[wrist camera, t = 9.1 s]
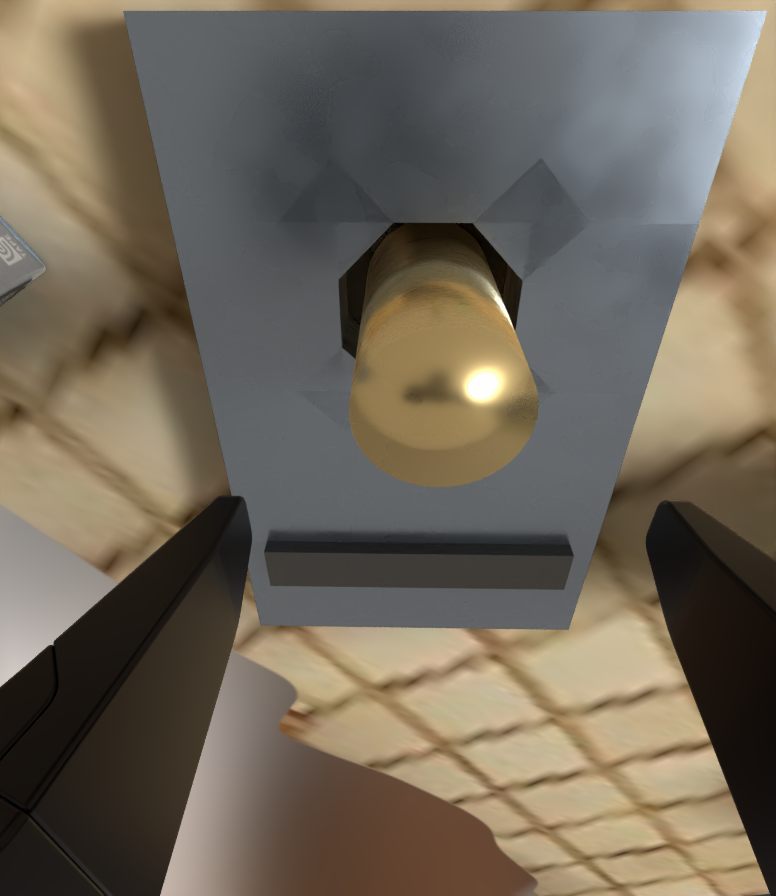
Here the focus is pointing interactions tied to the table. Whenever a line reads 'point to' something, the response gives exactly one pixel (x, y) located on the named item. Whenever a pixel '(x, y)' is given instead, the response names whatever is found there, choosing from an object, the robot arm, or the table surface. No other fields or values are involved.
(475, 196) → the jig
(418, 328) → the cylinder
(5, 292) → the label tape box
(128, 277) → the table surface
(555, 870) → the table surface
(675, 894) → the table surface
